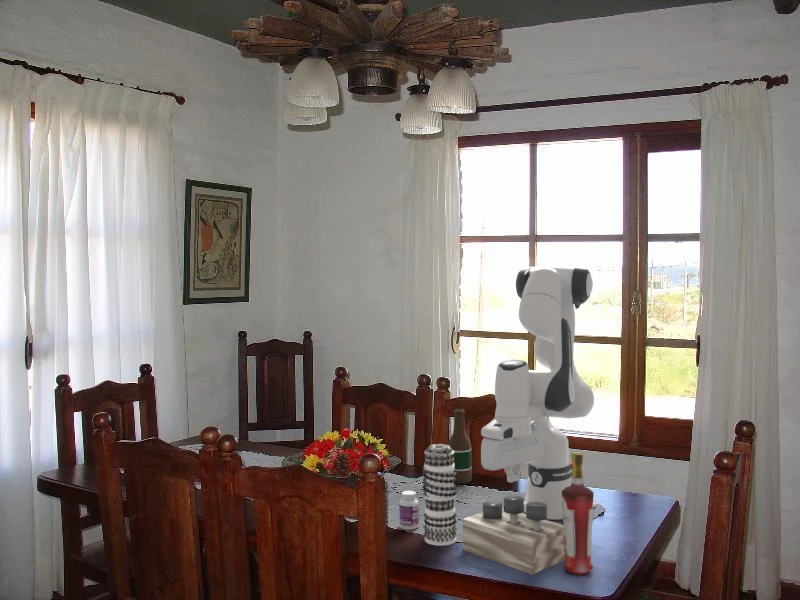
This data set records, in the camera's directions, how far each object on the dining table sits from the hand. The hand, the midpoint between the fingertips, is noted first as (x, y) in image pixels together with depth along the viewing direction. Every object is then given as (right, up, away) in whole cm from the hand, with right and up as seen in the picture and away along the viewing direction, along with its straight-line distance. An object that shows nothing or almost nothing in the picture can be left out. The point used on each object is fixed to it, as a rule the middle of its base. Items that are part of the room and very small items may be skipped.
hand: (513, 481), depth 191 cm
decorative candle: (-18, -18, +12) cm, 28 cm away
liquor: (+14, -19, -10) cm, 26 cm away
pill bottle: (-26, -18, +22) cm, 38 cm away
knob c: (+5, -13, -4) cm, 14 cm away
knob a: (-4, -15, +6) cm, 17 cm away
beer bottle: (-8, -15, +65) cm, 67 cm away
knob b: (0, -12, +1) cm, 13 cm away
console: (0, -18, +1) cm, 19 cm away
